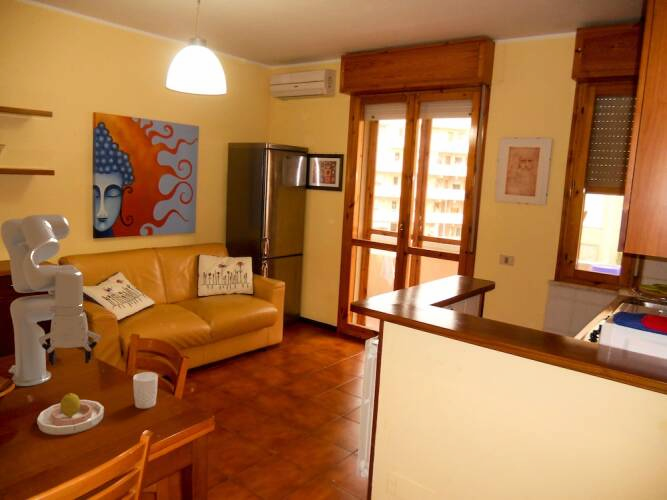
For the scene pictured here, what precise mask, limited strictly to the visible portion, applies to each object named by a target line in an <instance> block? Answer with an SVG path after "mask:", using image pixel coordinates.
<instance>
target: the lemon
mask: <svg viewBox="0 0 667 500" xmlns="http://www.w3.org/2000/svg"><path fill="white" fill-rule="evenodd" d="M80 400H81V399H80V397H79V396H78V395H77V394H76V393H73V392H69V393H68V394H65V395H64V396H63V397H62V398H61V400H60V403H61V404H60V403H59V404H60V408H61V412H62V413H63V414H64V415H65V416H69V417H72V416H73V415H75V414H76V413H77V412H78V411H79V409H80Z"/></svg>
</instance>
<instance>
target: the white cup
mask: <svg viewBox="0 0 667 500" xmlns="http://www.w3.org/2000/svg"><path fill="white" fill-rule="evenodd" d="M158 377H159V375H158V374H157V373H156V372H154V371H153V372H152V371H151V372H150V371H146V372H145V371H144V372H140V373H136V374H135V375H134V376H133V377H132V380H133V381H132V382H133V396H134V406H135V408H137V409H150V408H152V407H155V406H156V404H157V395H158V394H157V393H158V382H159V380H158Z"/></svg>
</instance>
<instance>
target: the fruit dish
mask: <svg viewBox="0 0 667 500" xmlns="http://www.w3.org/2000/svg"><path fill="white" fill-rule="evenodd" d="M79 400H80V409H79V411H78V412H77V413H76V414H75V415H73V416H72V417H69V416H65V415H64V414H63V413H62V412H61V408H60V404H61V402H60V403H57V404H53V405H51V406H49V407H47V408H46V409H44V410H42V411H41V412H40V414H39V415H38V417H37V421H36V423H37V425H38V429H39V430H40V431H41V432H42V433H44V434H48V435H52V436H53V435H55V436H65V435H66V436H67V435H74V434H77V433H81V432H85V431H87V430H89V429H91V428H94V427H95V426H97V425H98V424H99V423H101V421H102V420H103V418H104V413H105V412H104V411H105V406H103V405H102V404H101V403H100V402H98V401H94V400H88V399H79Z"/></svg>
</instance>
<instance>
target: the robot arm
mask: <svg viewBox="0 0 667 500" xmlns="http://www.w3.org/2000/svg"><path fill="white" fill-rule="evenodd" d="M69 223H70V222H69V221H68V220H67V218H66V217H65V216H63V215H62V214H31V215H28V216H26V217H23V218H11V219H6V220H5V221H3V222H2V224H1V227H0V236H1V237H0V238H1V240H2V243H3V245H4V247H5V249H6V251H7V253H8V256H9V265H10V272H11V273H10V274H11V281H12V286H13V287H12V288H13V289H14V291H15V292H17V293H20V294H21V293H22V294H25V293H36V292H38V293H39V292H48V294H39V295H30V296H29V295H28V296H22V297H18V298H15V300H13V301H11V303H10V307H9V310H10V315H11V319H12V325H13V332H14V333H13V334H14V350H15V351H14V356H15V365H11V367H10V369H8V373H10V374H13V376H12V377H11V379H12V380H13V381H14V383H15V384H16V385H15V386H17V387H30V386H32V387H33V386H37V385H40V384H44V383H45V382H48V381H49V380H50V379H51V377H52V374H51V372H50V371H47V366H46V365H47V364H46V363H47V359H46V352H47V353H48V362H50V366H54V365H55V363H56V359H57V358H56V357H57V356H56V355H57V354H56V349H59V348H60V349H62V348H81V347H83V348H84V349H85V351H84V355H85V357H84V358H85V359H84V360H85V361H84V362H85V364H89V362H90V360H92V350H93V349H94V348H95V347H96V346H97V345H98V343H99V341H100V339H101V337H102V336H101V335H100V334H98V333H95V332H93V331H91V330H89V325H88V324H89V323H88V318H87V314H86V312H84V281H83V280H84V277H83V273H82V271H80V270H79V269H78V268H77V267H76V265H72V264H61V265H54V264H41V263H42V262H46V261H47V260H49V259H52V258H53V257H55V256H56V255H57V254H58V252H59V251H60V249H61V244H60V242H59V240H64V239H66V238H67V237H68V236H69V235H70V227H71V226H70V224H69ZM39 264H41V265H39ZM50 320H51V324H50V332H48V333H45V330H44V328H43V327H41V326H40V325H39V324H37V323H38V322H42V321H50ZM89 337H90V338H93V339H94V340H93V341H92V343H90V341H89ZM49 339H50V340H49ZM46 340H49V343H48V342H47V341H46Z"/></svg>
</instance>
